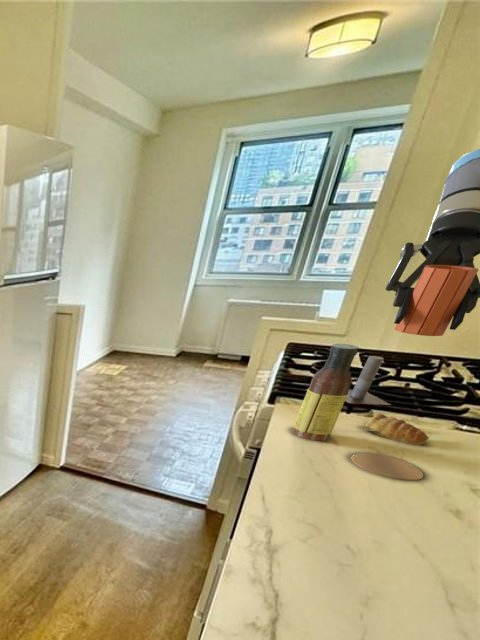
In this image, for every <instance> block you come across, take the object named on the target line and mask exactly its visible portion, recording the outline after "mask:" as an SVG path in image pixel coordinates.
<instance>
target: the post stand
mask: <svg viewBox="0 0 480 640" xmlns="http://www.w3.org/2000/svg"><path fill="white" fill-rule="evenodd" d="M384 360H385V359H384V357H382V356H379V355H378V356H376V355H369V356H368V358H367V360H366V361H365V363H364V366H363V368H362V370H361V371H360V374H359V376H358V377H357V380H356V383H355V384H354V387H352V388H353V389H352V390H350V389H349V392H348V394H347V397H346V399H345V403H347V404H353V405H379V406H392V404H391V403H389V402H387V401H385V400H384V399H381V398H379V397H378V396H375V395H373V394H371V393H369V390H370V387H371V386H372V383H373V381H374V379H375V377H376V375H377V373H378V372H379V369H380V367H381V366H382V363H383V361H384Z"/></svg>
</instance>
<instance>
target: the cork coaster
mask: <svg viewBox="0 0 480 640" xmlns="http://www.w3.org/2000/svg"><path fill="white" fill-rule="evenodd" d="M350 460H351V461H352V462H353V463H354V464H355V465H356V466H357V467H359V468H361V469H363V470H365V471H366V472H367V471H368V472H369V473H372V474H375V475H378V476H381V477H385V478H389V479H395V480H401V481H418V480H421V479H422V478H423V477H424V473H423V471H422V470H421V469H419V468H418V467H417V466H415V465H413V464H411V463H409V462H406V461H404V460H401V459H398V458H395V457H392V456H388V455H382V454H377V453H372V452H371V453H370V452H369V453H368V452H359V453H355V454H353V455H352V456H351V459H350Z"/></svg>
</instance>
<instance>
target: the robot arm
mask: <svg viewBox="0 0 480 640" xmlns="http://www.w3.org/2000/svg"><path fill="white" fill-rule="evenodd" d="M419 252H420V254H421V255H422V256H423V257H424V259H425V260H424V261H423V262H422V263H421V264H420V265H419V266H418V267H417V268H416V269H415V270H414V271H413V272H412V273H411V274H410V275H408V277H407V278H406V279H405V280H404V281H400V280H401V278H402V275H403V274H404V272H405V270H406V268H407V266H408V264H409V263H410V261H411V259H412V258H413V257H414V256H416V255H417V254H418V253H419ZM399 255H400V256H399V259H400V261H399V262H398V264H397V266H396V268H395V269H394V271H393V273H392V275H391V277H390V279H389V281H388V282H387V284H386V285H385V291H387V292H391V291H392V292H395V293H394V296H395V297H394V300H393V303H392V307H395V308H398V310H397V312H396V316H395V318H394V321H393V324H395V325H396V324H400V322H401V321H402V320H403V318H404V317H405V315H406V312H407V309H408V306H409V303H410V300H411V297H412V294H413V290H414V288H415V287H412V286H414V285H415V283H417V282H418V280H419V278H420V276H421V274H422V271H423V269H424V267H425V266H426V265H450V266H452V265H453V266H465V267H472V268H476V267H475V264H474V260H475V257H477V256H478V255H480V148H478V149H474V150H472V151H470V152H468V153H465V154H463V155H462V156H461V157H460V158H459V159H457V160H456V161H455V162H454V163H453V164H452V167H451V169H450V171H449V173H448V175H447V177H446V179H445V181H444V186H443V189H442V193H441V196H440V199H439V203H438V205H437V208H436V211H435V214H434V216H433V219H432V223H431V226H430V228H429V231H428V234H427V237H426V240H425V241H424V242H423V243H420V244H415V243H413V242H411V241H410V242H406V243H405V244H404V246H403V248H402V249H401V251H400V253H399ZM479 298H480V280H479V276H478V273H477V274H476V276H475V277H474V279H473V281H472V283H471V285H470V287H469V288H468V290H467V292H466V294H465V296H464V298H463V299H462V301H461V303H460V305H459V307H458V309H457V310H456V312H455V314H454V316H453V318H452V320H451V322H450V326H449V330H452V331H455V330H457V329H458V327H459V326H461V324H462V323H463V322H464V319H465V317H466V316H465V315H466V314H470V313H471V312H472V311H473V310H474V309H475V308H476V306H477V303H478V301H479Z"/></svg>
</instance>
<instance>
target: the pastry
mask: <svg viewBox="0 0 480 640" xmlns="http://www.w3.org/2000/svg"><path fill="white" fill-rule="evenodd" d="M365 427H366V428H370V429H371V430H367V432H368V433H370V434H372V435H377V436H379V437H380V438H381V437H382V438H385V439H390V440H393V441H397V442H401V443H405V444H409V445H415V446H416V445H417V446H420V445H424V444H425V443H426V442H427V441H428V440H429V439H430V437H429V436H428V435H427V434H426V433H425V431H422V430H421V429H419V428H418V427H416V426H414V425H413V424H411V423H408V422H406V421H405V420H404V419H399V418H398V419H397V418H396V417H394V416H386V415H385V414H383V413H377V414H375V415H374V416H373V417H371V418H370V419H369V420H368V422H367V423H366V424H365Z"/></svg>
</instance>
